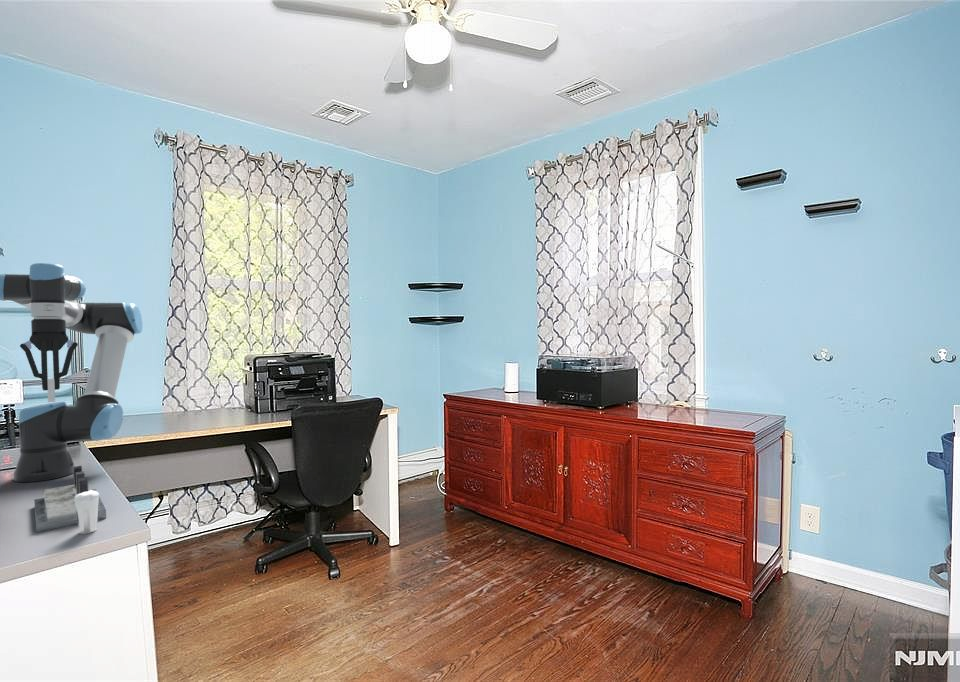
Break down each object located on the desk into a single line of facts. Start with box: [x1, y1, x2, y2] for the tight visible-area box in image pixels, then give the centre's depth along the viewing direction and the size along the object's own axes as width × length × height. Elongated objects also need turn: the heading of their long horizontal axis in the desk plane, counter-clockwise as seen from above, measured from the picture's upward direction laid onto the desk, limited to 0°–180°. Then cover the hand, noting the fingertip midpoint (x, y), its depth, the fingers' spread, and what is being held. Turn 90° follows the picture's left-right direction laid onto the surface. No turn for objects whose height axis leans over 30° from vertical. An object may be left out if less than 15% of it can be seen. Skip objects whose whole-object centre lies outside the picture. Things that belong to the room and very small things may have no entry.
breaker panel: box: [33, 465, 107, 533], centre depth 132 cm, size 24×13×10 cm, turn 41°
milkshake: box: [73, 488, 100, 535], centre depth 119 cm, size 5×5×10 cm
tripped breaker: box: [76, 470, 86, 493], centre depth 134 cm, size 3×2×5 cm, turn 41°
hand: (51, 401), depth 148 cm, fingers closed
